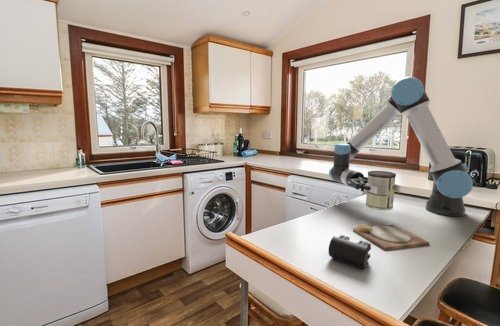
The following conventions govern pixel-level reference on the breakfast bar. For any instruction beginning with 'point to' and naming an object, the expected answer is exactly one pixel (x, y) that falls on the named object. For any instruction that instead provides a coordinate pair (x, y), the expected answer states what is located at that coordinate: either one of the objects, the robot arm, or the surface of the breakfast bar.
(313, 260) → the breakfast bar surface
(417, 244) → the carrier board
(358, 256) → the end cap
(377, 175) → the coffee can
